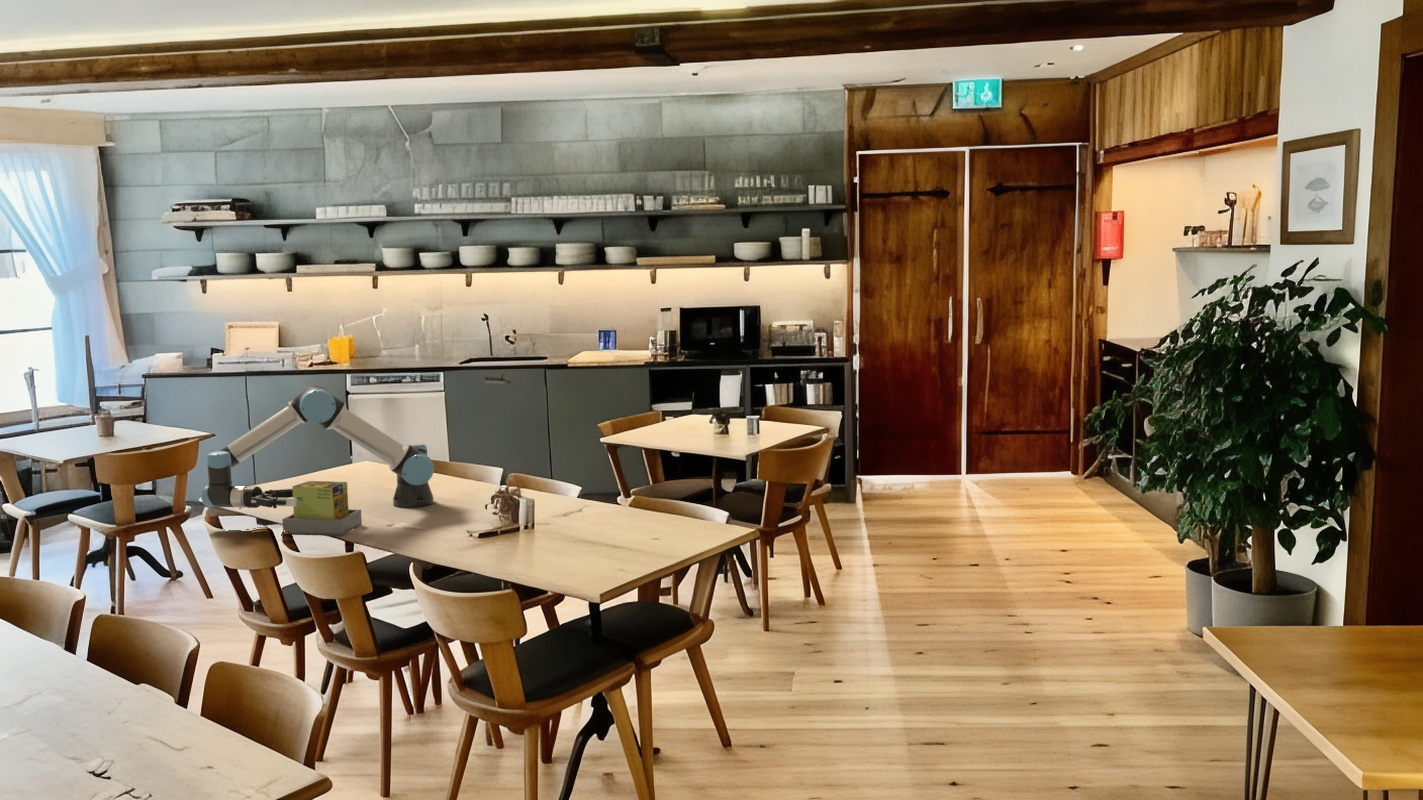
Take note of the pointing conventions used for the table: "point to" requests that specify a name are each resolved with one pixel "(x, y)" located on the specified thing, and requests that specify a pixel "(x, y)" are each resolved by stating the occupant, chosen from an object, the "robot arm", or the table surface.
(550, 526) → the table surface
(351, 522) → the tray
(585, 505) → the table surface
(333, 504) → the protein box
